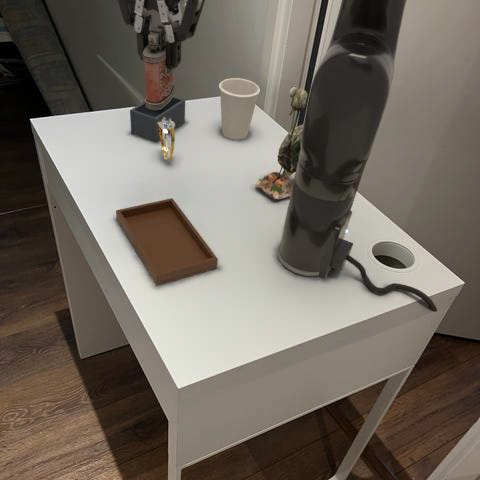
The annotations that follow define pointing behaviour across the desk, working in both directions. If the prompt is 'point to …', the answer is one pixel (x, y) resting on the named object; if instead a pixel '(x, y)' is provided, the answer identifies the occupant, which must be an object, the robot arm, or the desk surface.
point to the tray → (166, 241)
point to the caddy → (156, 118)
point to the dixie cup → (237, 106)
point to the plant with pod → (286, 155)
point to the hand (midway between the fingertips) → (159, 63)
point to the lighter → (157, 70)
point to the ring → (167, 137)
